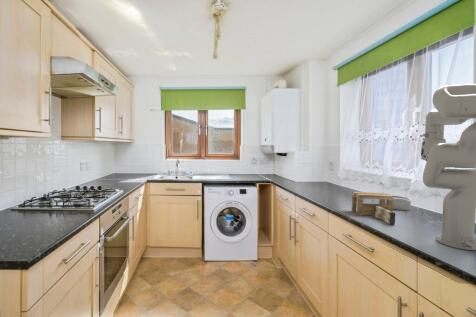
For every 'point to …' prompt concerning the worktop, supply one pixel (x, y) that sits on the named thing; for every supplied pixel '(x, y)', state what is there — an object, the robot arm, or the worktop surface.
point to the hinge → (400, 203)
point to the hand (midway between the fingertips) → (432, 171)
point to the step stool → (370, 208)
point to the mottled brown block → (385, 215)
